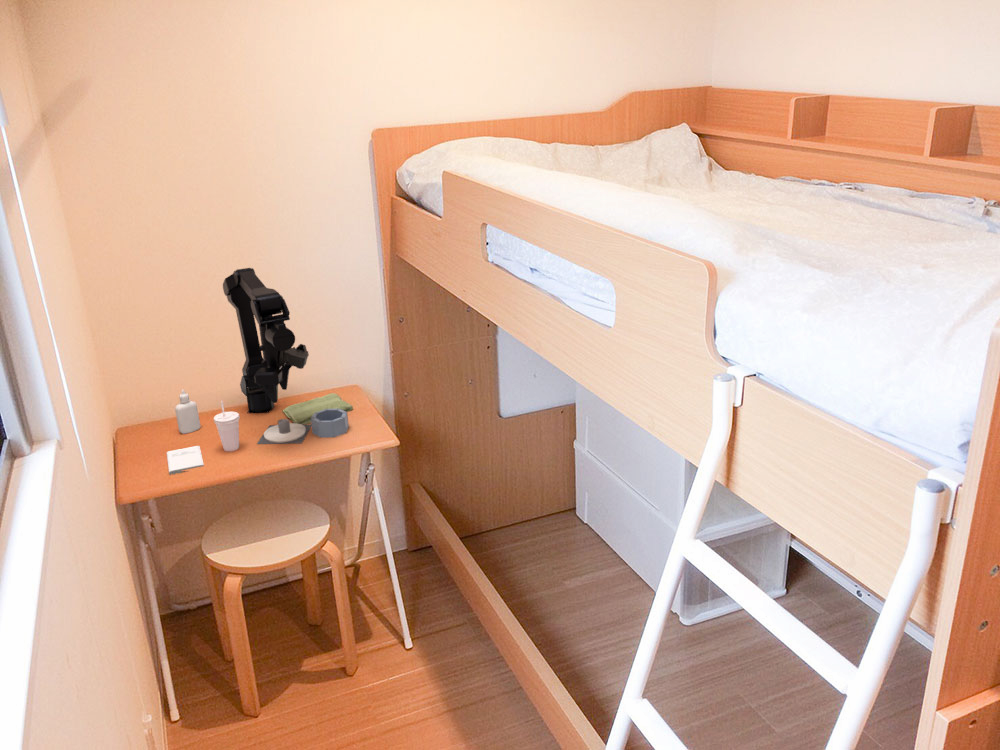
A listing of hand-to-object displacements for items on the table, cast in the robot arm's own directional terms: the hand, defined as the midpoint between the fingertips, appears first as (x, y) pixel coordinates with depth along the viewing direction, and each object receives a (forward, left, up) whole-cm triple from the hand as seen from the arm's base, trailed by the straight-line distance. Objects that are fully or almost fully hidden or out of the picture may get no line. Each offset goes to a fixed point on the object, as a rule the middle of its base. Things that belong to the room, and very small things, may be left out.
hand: (280, 395), depth 213 cm
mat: (0, 0, -12) cm, 12 cm away
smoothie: (-12, -8, -12) cm, 19 cm away
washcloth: (+5, +15, -12) cm, 20 cm away
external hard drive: (-22, -14, -13) cm, 29 cm away
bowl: (+12, +2, -12) cm, 17 cm away
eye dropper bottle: (-28, +5, -12) cm, 31 cm away
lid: (0, 0, -11) cm, 11 cm away
